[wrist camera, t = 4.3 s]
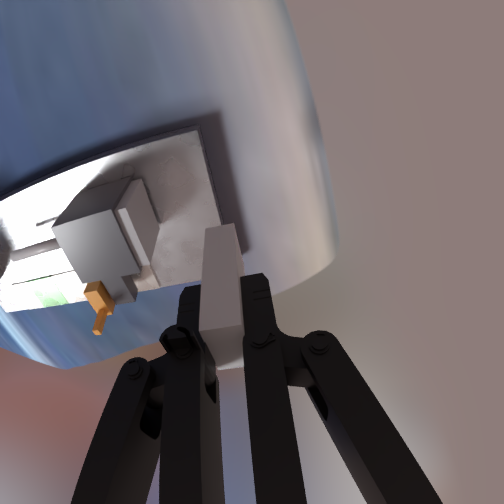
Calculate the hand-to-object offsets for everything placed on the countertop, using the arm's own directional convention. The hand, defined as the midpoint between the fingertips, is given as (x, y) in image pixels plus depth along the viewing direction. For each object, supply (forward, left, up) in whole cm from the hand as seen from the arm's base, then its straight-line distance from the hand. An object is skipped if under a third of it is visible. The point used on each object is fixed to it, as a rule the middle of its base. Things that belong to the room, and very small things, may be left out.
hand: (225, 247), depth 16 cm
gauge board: (-16, -2, -9) cm, 18 cm away
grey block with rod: (-12, -2, -7) cm, 15 cm away
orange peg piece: (-13, -6, -7) cm, 16 cm away
